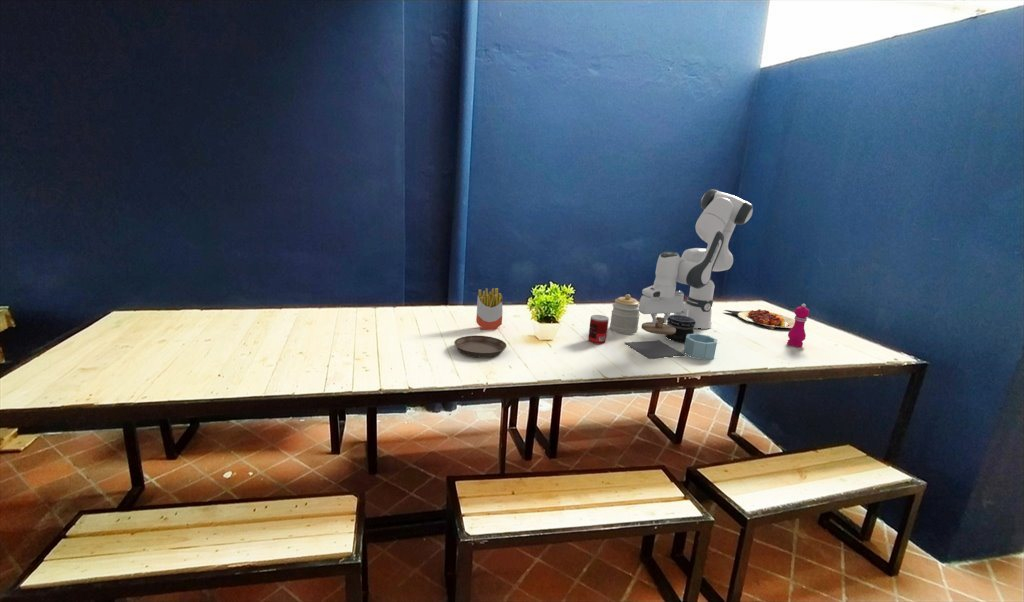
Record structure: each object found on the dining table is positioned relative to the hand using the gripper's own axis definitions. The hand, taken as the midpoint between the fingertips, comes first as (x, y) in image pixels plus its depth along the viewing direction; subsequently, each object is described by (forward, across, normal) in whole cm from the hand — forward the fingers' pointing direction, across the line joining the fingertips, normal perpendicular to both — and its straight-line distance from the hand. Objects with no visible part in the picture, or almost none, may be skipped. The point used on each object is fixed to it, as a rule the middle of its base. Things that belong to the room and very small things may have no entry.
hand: (659, 323), depth 218 cm
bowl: (+12, -17, +8) cm, 22 cm away
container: (+12, -21, -11) cm, 27 cm away
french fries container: (+12, +62, -39) cm, 74 cm away
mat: (+12, 0, 0) cm, 12 cm away
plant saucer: (+12, +74, -13) cm, 76 cm away
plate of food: (+12, -90, -28) cm, 95 cm away
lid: (+3, 0, 0) cm, 3 cm away
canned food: (+12, +20, -15) cm, 28 cm away
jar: (+12, -1, -26) cm, 29 cm away
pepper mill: (+12, -74, +6) cm, 75 cm away
